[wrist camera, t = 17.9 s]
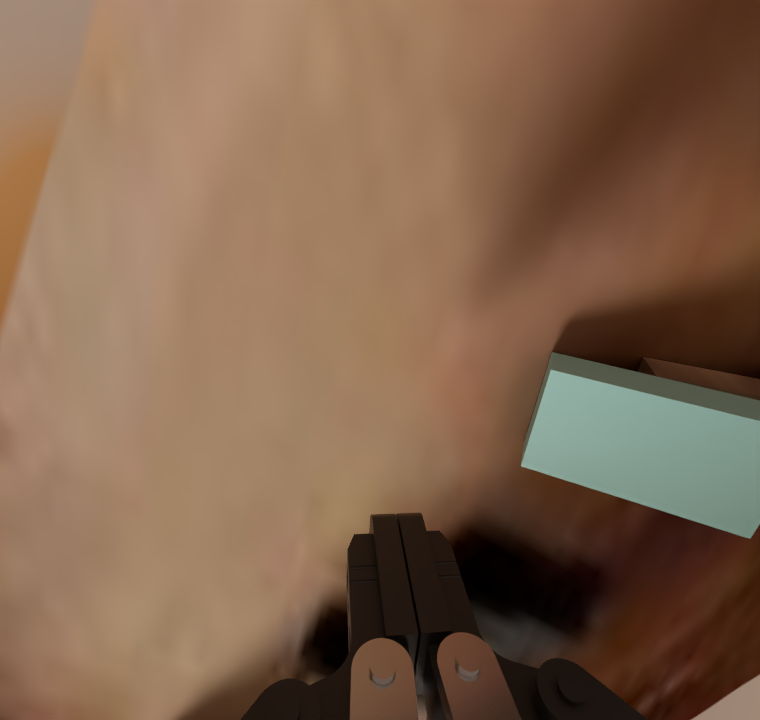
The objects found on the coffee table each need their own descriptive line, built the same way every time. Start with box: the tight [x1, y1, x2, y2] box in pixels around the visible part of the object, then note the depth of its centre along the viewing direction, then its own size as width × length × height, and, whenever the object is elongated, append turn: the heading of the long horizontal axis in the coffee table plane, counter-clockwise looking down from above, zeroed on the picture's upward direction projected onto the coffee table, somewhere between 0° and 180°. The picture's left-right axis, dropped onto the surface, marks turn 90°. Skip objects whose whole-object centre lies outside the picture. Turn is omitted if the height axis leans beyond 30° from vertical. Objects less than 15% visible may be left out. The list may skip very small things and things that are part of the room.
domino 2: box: [521, 352, 760, 539], centre depth 18 cm, size 2×5×9 cm
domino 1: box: [637, 357, 760, 400], centre depth 19 cm, size 2×5×9 cm
